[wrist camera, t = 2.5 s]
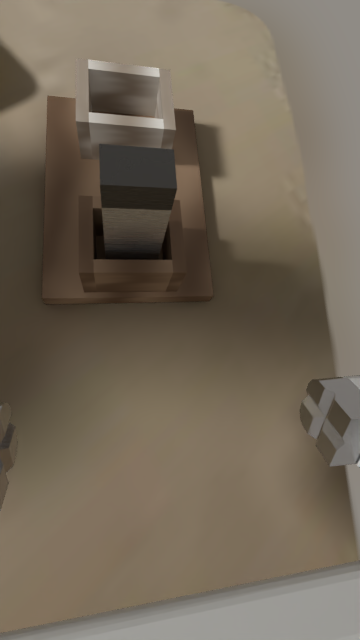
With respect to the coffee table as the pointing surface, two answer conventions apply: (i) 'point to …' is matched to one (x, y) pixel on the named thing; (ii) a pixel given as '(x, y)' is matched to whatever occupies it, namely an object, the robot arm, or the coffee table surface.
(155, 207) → the brushed metal bar
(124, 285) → the caddy
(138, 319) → the coffee table surface
